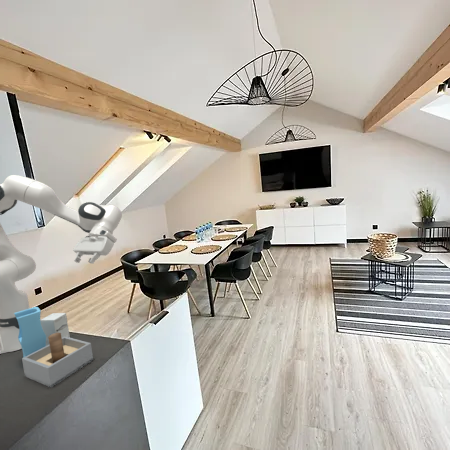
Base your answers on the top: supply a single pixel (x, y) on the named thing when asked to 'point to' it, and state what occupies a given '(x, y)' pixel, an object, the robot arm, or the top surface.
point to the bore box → (56, 372)
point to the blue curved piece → (30, 330)
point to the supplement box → (55, 325)
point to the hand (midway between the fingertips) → (83, 262)
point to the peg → (56, 347)
